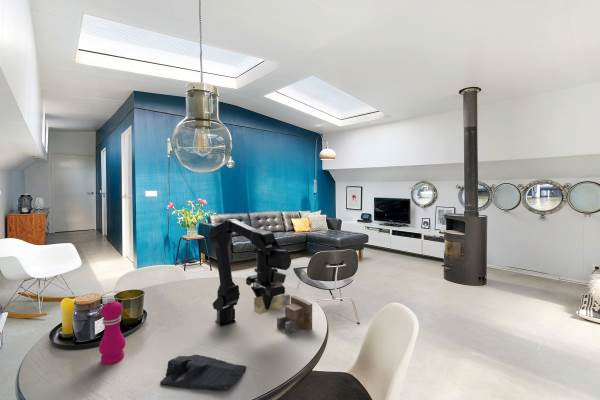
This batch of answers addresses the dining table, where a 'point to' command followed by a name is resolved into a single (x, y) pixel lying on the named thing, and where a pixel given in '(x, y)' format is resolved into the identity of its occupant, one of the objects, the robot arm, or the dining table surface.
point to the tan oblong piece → (275, 304)
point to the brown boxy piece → (296, 316)
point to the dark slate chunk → (202, 372)
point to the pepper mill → (112, 333)
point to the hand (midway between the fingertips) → (264, 307)
